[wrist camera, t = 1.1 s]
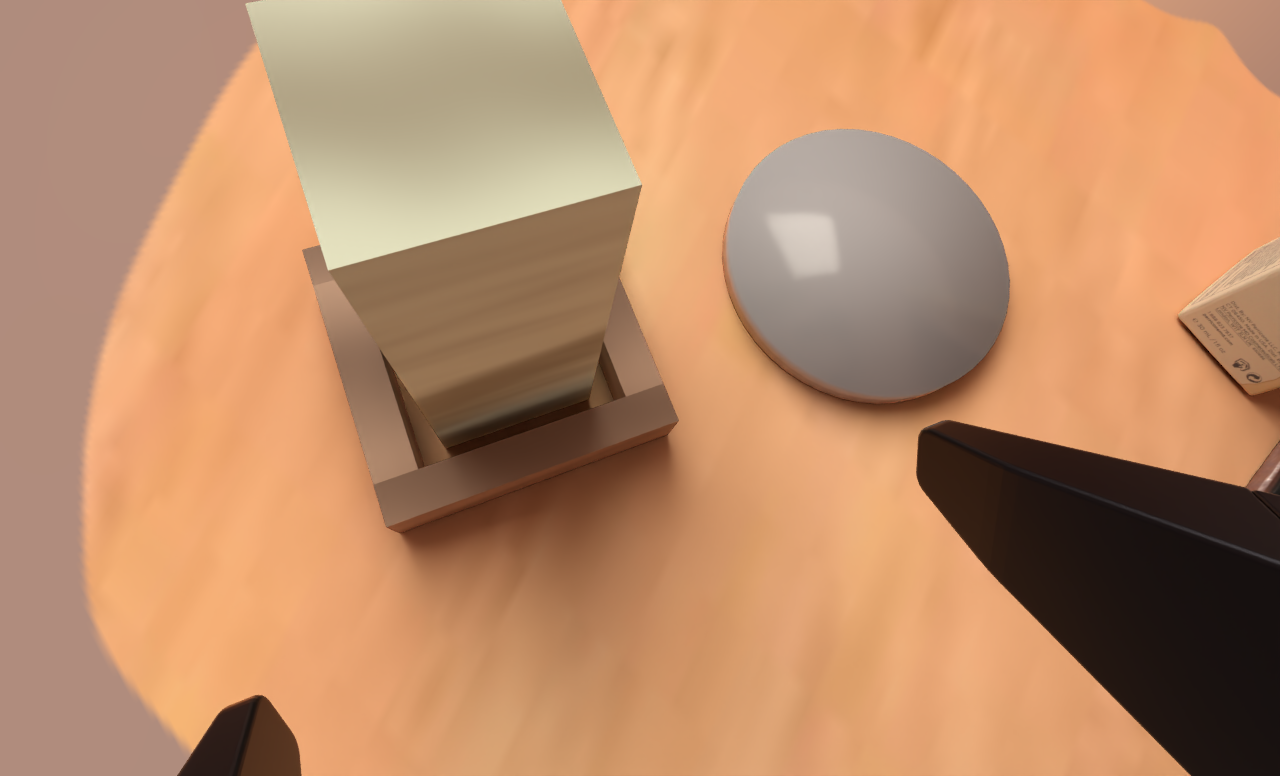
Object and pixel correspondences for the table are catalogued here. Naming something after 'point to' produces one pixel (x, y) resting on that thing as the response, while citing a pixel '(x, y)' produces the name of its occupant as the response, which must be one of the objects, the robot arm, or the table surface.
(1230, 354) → the skincare box
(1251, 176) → the table surface
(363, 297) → the tall khaki square post
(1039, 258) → the table surface
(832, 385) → the coaster
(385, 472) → the pocket block
